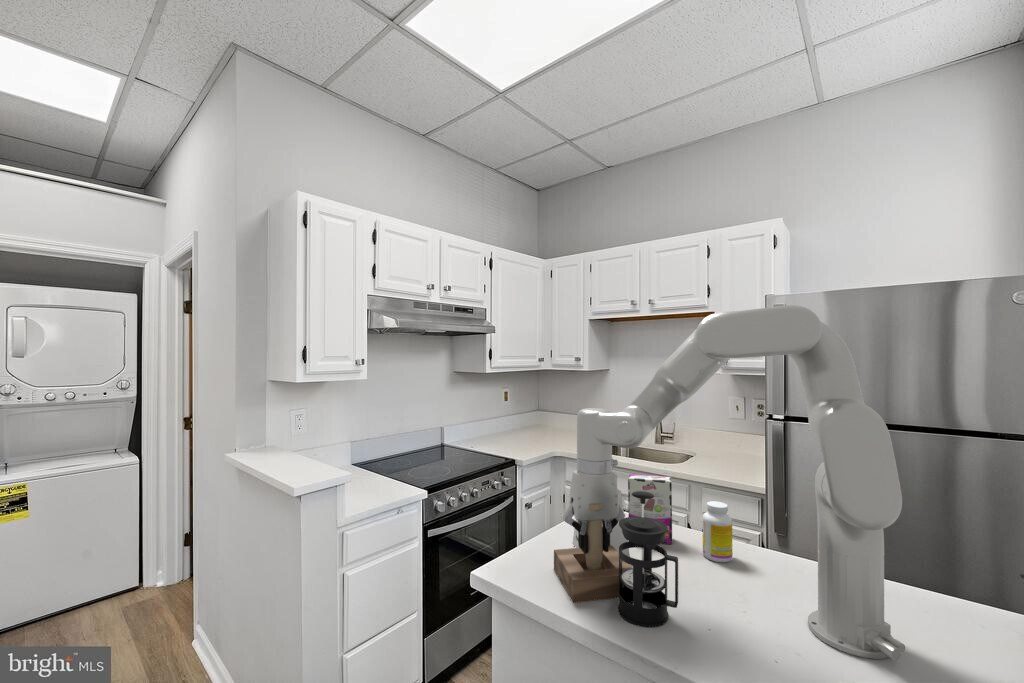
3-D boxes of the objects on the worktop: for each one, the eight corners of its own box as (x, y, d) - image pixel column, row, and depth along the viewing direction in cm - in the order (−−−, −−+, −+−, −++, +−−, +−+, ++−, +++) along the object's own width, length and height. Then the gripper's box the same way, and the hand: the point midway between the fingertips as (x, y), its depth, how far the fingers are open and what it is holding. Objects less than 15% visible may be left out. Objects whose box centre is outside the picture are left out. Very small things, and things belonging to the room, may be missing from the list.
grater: (572, 545, 119) (572, 467, 119) (608, 540, 122) (608, 464, 122) (590, 563, 109) (591, 478, 109) (630, 558, 112) (630, 475, 112)
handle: (608, 564, 102) (608, 496, 103) (601, 577, 96) (601, 505, 97) (587, 560, 104) (587, 493, 105) (579, 573, 99) (579, 502, 99)
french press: (608, 617, 87) (608, 495, 87) (621, 594, 95) (621, 482, 96) (673, 636, 82) (673, 505, 82) (681, 609, 90) (681, 491, 90)
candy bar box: (671, 537, 124) (671, 476, 124) (672, 545, 119) (672, 481, 119) (628, 532, 127) (629, 472, 128) (627, 539, 123) (627, 477, 123)
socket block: (638, 596, 95) (638, 574, 95) (573, 602, 92) (573, 580, 92) (611, 564, 109) (611, 545, 109) (553, 569, 106) (553, 549, 106)
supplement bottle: (738, 560, 111) (738, 507, 111) (717, 565, 108) (717, 510, 108) (717, 549, 117) (717, 498, 117) (696, 553, 114) (696, 501, 115)
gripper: (623, 460, 106) (622, 540, 106) (552, 463, 103) (552, 545, 103) (637, 468, 98) (637, 554, 98) (562, 472, 95) (562, 561, 95)
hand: (594, 549), depth 100 cm, fingers closed on handle, 4 cm apart
